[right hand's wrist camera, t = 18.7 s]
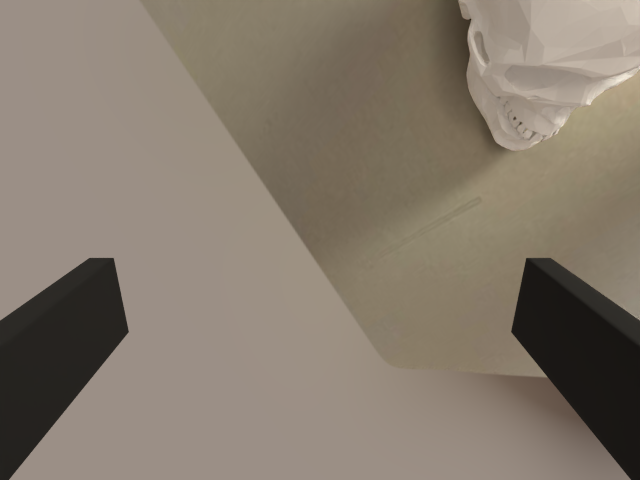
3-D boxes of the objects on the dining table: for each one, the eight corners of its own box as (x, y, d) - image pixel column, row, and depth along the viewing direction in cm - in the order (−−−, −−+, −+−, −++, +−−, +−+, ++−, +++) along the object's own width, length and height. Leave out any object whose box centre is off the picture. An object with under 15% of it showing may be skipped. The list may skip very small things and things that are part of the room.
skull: (451, 160, 39) (539, 197, 24) (435, -106, 32) (549, -287, 17) (582, 136, 39) (754, 159, 24) (598, -139, 31) (864, -356, 16)
